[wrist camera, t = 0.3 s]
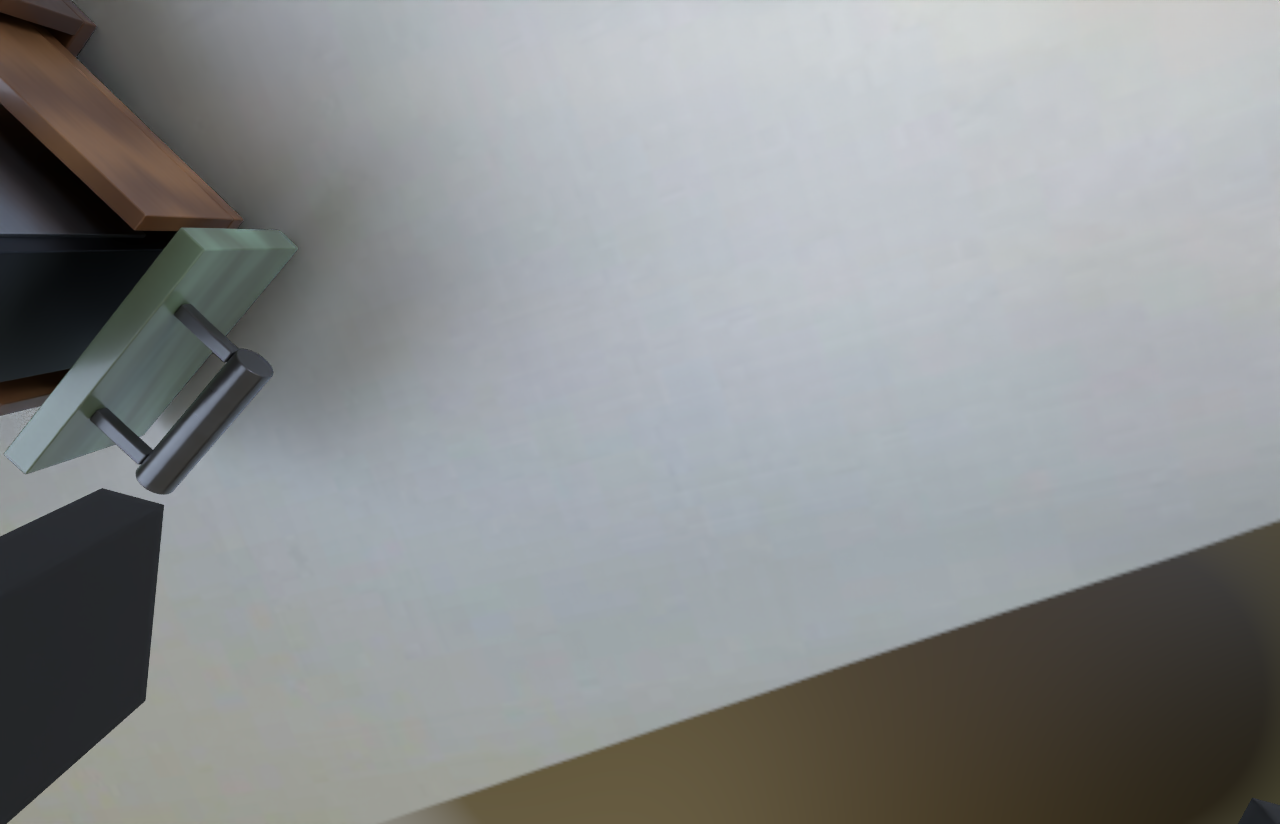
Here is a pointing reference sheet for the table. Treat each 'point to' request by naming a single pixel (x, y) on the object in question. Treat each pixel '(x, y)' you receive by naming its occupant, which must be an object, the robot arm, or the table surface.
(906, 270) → the table surface
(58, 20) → the cabinet
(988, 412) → the table surface
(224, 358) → the drawer
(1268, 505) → the table surface
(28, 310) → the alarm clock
